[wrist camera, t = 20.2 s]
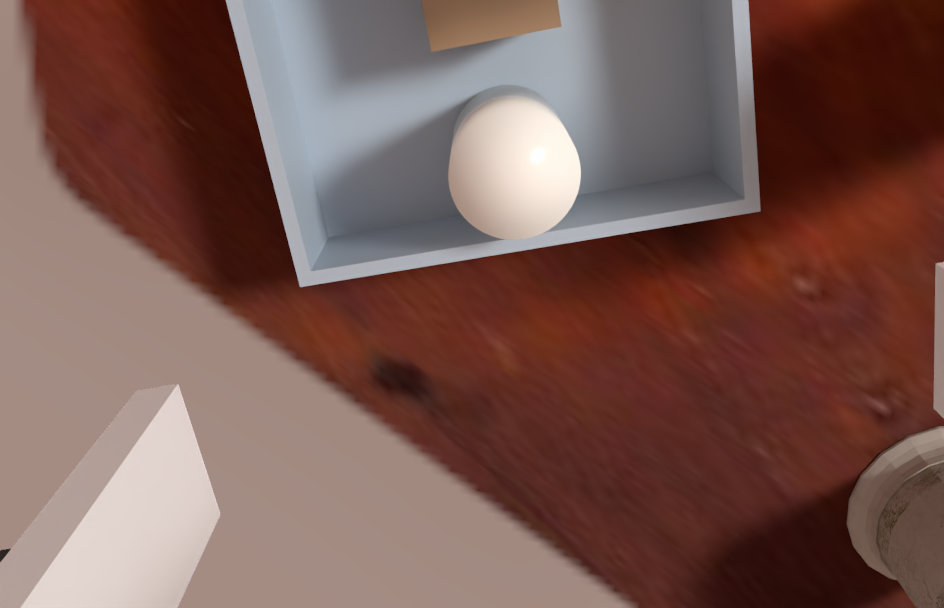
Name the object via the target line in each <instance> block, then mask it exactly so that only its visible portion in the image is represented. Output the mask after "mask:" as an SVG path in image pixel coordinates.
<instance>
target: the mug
mask: <svg viewBox="0 0 944 608" xmlns="http://www.w3.org/2000/svg"><path fill="white" fill-rule="evenodd" d="M847 527H848V530H849V534H850V537H851V541H852V545H853V547H854V548H855V549H856V551H857V552H858V553H859V554H860V556H861V557H862V558H863V559H864V561H865V562H866V563H867V565H868V566H870V567H871V568H873V569H875V570H876V571H878V572H880V573H881V574H883V575H885V576H886V577H888V578H890V579H894V580H898V582H899V583H900V585H901V586H902V588H903V589H904V591H905V592H906V593H907V595H908V596H909V598H910V599H911V601H912V602H913V604H914V605H915V607H916V608H944V426H940V427H935V428H931V429H928V430H925V431H922V432H919V433H916V434H913V435H910V436H907V437H905V438H904V439H902V440H901V441H899V442H897V443H896V444H894V445H893V446H891V447H889V448H888V449H886V450H885V451H883V452H881V453H880V454H879V455H878V457H877V458H876V459H875V460H874V461H873V462H872V463H871V464H870V465H869V466H868V467H867V468H866V470H865V471H864V472H863V473H862V474H861V475H860V477H859V480H858V482H857V484H856V486H855V488H854V490H853V492H852V494H851V496H850V498H849V505H848V514H847Z"/></svg>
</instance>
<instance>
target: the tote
mask: <svg viewBox="0 0 944 608" xmlns="http://www.w3.org/2000/svg"><path fill="white" fill-rule="evenodd" d="M226 3H227V7H228V11H229V15H230V19H231V23H232V27H233V31H234V34H235V38H236V42H237V46H238V50H239V54H240V58H241V61H242V65H243V69H244V73H245V77H246V81H247V85H248V88H249V92H250V96H251V100H252V104H253V108H254V112H255V116H256V119H257V123H258V127H259V131H260V135H261V139H262V143H263V146H264V150H265V154H266V158H267V162H268V166H269V170H270V173H271V177H272V181H273V185H274V189H275V193H276V197H277V200H278V204H279V208H280V212H281V216H282V220H283V224H284V228H285V231H286V235H287V239H288V243H289V247H290V251H291V255H292V258H293V262H294V266H295V270H296V274H297V278H298V282H299V285H300V287H304V286H310V285H316V284H322V283H329V282H335V281H341V280H347V279H353V278H359V277H365V276H371V275H377V274H383V273H389V272H395V271H401V270H408V269H414V268H420V267H426V266H432V265H438V264H444V263H450V262H456V261H462V260H468V259H474V258H480V257H487V256H493V255H499V254H505V253H511V252H517V251H523V250H529V249H535V248H541V247H547V246H553V245H559V244H566V243H572V242H578V241H584V240H590V239H596V238H602V237H608V236H614V235H620V234H626V233H632V232H638V231H645V230H651V229H657V228H663V227H669V226H675V225H681V224H687V223H693V222H699V221H705V220H711V219H717V218H724V217H730V216H736V215H742V214H748V213H754V212H760V211H761V209H760V192H759V175H758V158H757V141H756V124H755V107H754V90H753V73H752V56H751V39H750V22H749V5H748V0H558V6H559V13H560V20H561V26H562V27H558V28H553V29H548V30H542V31H537V32H532V33H527V34H522V35H517V36H512V37H506V38H501V39H496V40H491V41H486V42H481V43H476V44H471V45H465V46H460V47H455V48H450V49H445V50H440V51H435V52H431V47H430V42H429V37H428V32H427V27H426V22H425V17H424V12H423V6H422V1H421V0H226ZM499 85H518V86H523V87H526V88H529V89H531V90H534V91H536V92H537V93H539V94H540V95H542V96H543V97H544V98H545V99H546V100H547V101H548V102H549V103H550V104H551V105H552V106H553V108H554V109H555V111H556V112H557V114H558V116H559V118H560V120H561V122H562V123H563V125H564V127H565V129H566V131H567V133H568V134H569V136H570V138H571V140H572V142H573V144H574V146H575V148H576V150H577V153H578V156H579V161H580V167H581V180H580V186H579V191H578V194H577V197H576V199H575V201H574V203H573V205H572V207H571V208H570V210H569V211H568V213H567V214H566V215H565V216H564V218H563V219H562V220H561V221H560V222H559V223H557V224H556V225H555V226H554V227H552V228H551V229H549V230H548V231H546V232H544V233H542V234H540V235H537V236H534V237H531V238H526V239H519V240H507V239H500V238H496V237H493V236H490V235H488V234H485V233H483V232H481V231H480V230H478V229H476V228H475V227H474V226H472V225H471V224H470V223H469V222H468V221H467V220H466V219H465V218H464V217H463V216H462V214H461V213H460V212H459V210H458V209H457V207H456V205H455V203H454V201H453V198H452V196H451V192H450V188H449V181H448V170H449V162H450V154H451V146H452V138H453V131H454V127H455V123H456V120H457V118H458V116H459V114H460V112H461V111H462V109H463V108H464V106H465V105H466V104H467V103H468V102H469V101H470V100H471V99H472V98H473V97H474V96H476V95H477V94H479V93H480V92H482V91H484V90H486V89H489V88H491V87H495V86H499Z"/></svg>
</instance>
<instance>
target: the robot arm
mask: <svg viewBox="0 0 944 608" xmlns="http://www.w3.org/2000/svg"><path fill="white" fill-rule="evenodd" d="M934 409H935V410H936V411H937V412H938V413H939V414H940V415H941V416H942V417H943V418H944V262H942V263H936V276H935V346H934ZM219 517H220V511H219V508H218V505H217V502H216V499H215V496H214V493H213V490H212V487H211V484H210V480H209V477H208V474H207V471H206V468H205V465H204V462H203V459H202V456H201V453H200V450H199V447H198V444H197V441H196V437H195V434H194V431H193V428H192V425H191V422H190V419H189V416H188V413H187V410H186V407H185V403H184V400H183V397H182V394H181V391H180V388H179V385H178V384H174V385H167V386H161V387H155V388H148V389H142V390H137V391H136V392H135V393H134V394H133V395H132V397H131V398H130V399H129V401H128V402H127V403H126V404H125V405H124V407H123V408H122V409H121V410H120V412H119V413H118V414H117V416H116V417H115V418H114V419H113V421H112V422H111V423H110V424H109V426H108V427H107V428H106V429H105V431H104V432H103V434H102V435H101V436H100V437H99V438H98V440H97V441H96V442H95V444H94V445H93V446H92V447H91V448H90V450H89V451H88V452H87V454H86V455H85V456H84V457H83V459H82V460H81V461H80V462H79V464H78V465H77V466H76V467H75V469H74V470H73V471H72V473H71V474H70V475H69V476H68V478H67V479H66V480H65V481H64V483H63V484H62V485H61V486H60V488H59V489H58V490H57V492H56V493H55V494H54V495H53V497H52V498H51V499H50V500H49V502H48V503H47V504H46V506H45V507H44V508H43V509H42V510H41V512H40V513H39V514H38V516H37V517H36V518H35V519H34V521H33V522H32V523H31V524H30V526H29V527H28V528H27V529H26V531H25V532H24V533H23V535H22V536H21V537H20V538H19V540H18V541H17V542H16V543H15V545H14V546H13V547H12V548H11V549H6V550H1V551H0V608H178V606H179V603H180V601H181V599H182V597H183V595H184V593H185V590H186V588H187V586H188V584H189V582H190V579H191V577H192V575H193V573H194V571H195V569H196V566H197V564H198V562H199V560H200V558H201V556H202V553H203V551H204V549H205V547H206V545H207V543H208V540H209V538H210V536H211V534H212V531H213V530H214V527H215V525H216V523H217V521H218V519H219Z"/></svg>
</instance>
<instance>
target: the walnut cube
mask: <svg viewBox="0 0 944 608" xmlns="http://www.w3.org/2000/svg"><path fill="white" fill-rule="evenodd" d="M421 1H422V6H423V12H424V17H425V22H426V27H427V32H428V37H429V42H430V47H431V52H435V51H440V50H445V49H450V48H455V47H460V46H465V45H471V44H476V43H481V42H486V41H491V40H496V39H501V38H506V37H512V36H517V35H522V34H527V33H532V32H537V31H542V30H548V29H553V28H558V27H562V26H561V20H560V13H559V6H558V0H421Z"/></svg>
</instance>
